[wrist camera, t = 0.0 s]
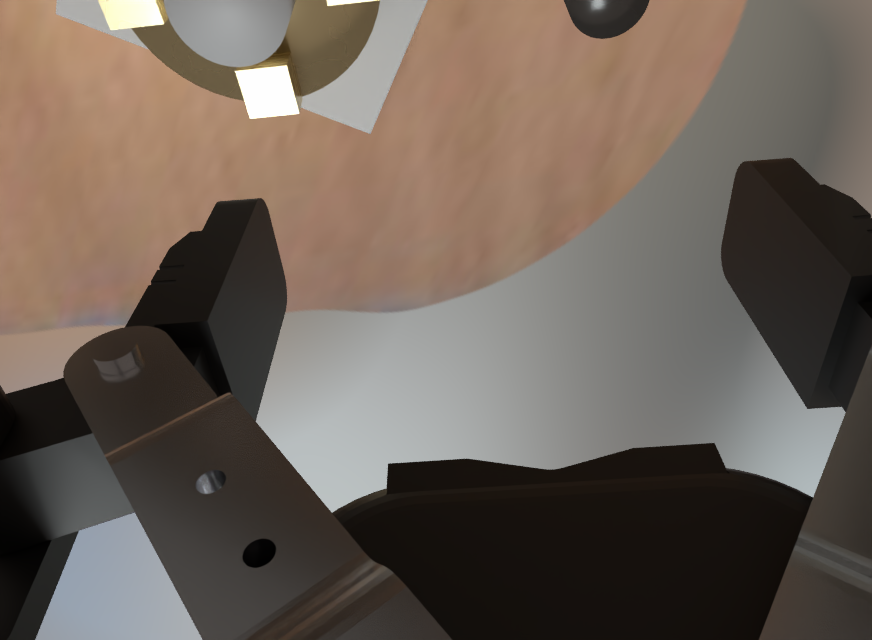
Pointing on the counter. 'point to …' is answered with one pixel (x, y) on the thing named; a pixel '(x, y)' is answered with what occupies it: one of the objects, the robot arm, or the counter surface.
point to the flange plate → (347, 87)
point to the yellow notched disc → (310, 46)
